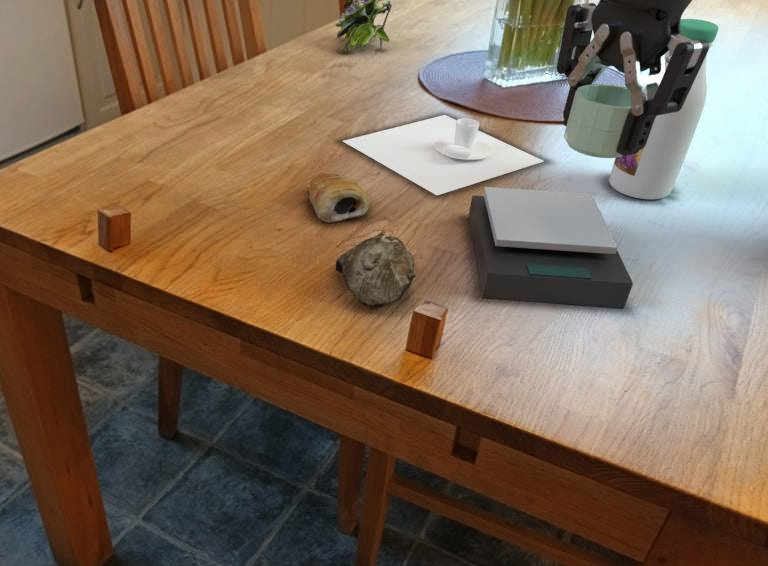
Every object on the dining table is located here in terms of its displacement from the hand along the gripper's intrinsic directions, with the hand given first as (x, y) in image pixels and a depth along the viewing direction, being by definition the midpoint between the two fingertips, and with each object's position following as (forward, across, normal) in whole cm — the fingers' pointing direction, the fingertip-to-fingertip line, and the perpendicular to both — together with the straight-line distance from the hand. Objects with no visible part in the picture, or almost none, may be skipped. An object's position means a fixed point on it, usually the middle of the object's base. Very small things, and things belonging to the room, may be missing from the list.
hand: (599, 138), depth 68 cm
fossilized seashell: (+15, +5, +20) cm, 25 cm away
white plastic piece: (+15, +32, -6) cm, 35 cm away
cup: (+1, 0, 0) cm, 1 cm away
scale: (+15, +3, 0) cm, 15 cm away
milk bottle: (+15, +12, -24) cm, 30 cm away
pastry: (+15, +22, +15) cm, 31 cm away
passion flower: (+15, +79, -21) cm, 83 cm away
